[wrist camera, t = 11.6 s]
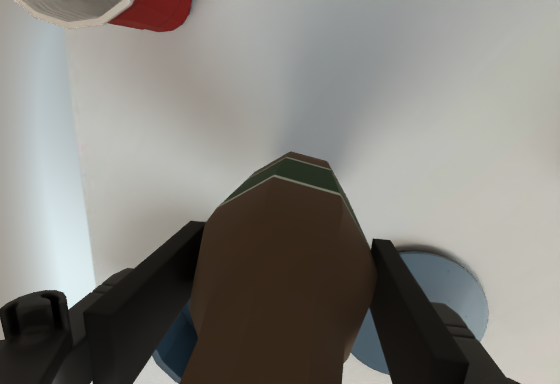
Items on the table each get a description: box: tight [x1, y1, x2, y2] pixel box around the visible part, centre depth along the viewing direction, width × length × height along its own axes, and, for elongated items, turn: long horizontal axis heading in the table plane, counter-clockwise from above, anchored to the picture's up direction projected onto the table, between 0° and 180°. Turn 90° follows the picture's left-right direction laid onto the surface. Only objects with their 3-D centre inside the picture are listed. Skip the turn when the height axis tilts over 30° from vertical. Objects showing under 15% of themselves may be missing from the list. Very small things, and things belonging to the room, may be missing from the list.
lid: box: [351, 251, 488, 375], centre depth 27 cm, size 16×16×11 cm
